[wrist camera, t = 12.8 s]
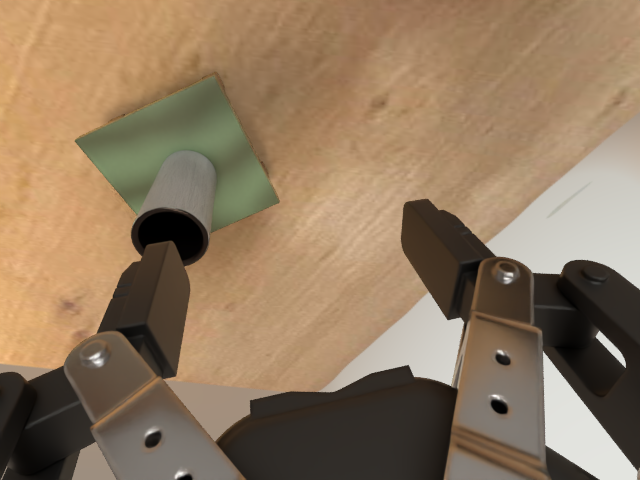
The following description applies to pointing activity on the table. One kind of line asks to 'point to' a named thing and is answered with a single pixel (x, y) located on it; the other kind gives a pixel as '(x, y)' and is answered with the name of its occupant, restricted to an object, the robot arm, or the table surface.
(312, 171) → the table surface
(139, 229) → the grey hollow tube
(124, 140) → the plant stand
